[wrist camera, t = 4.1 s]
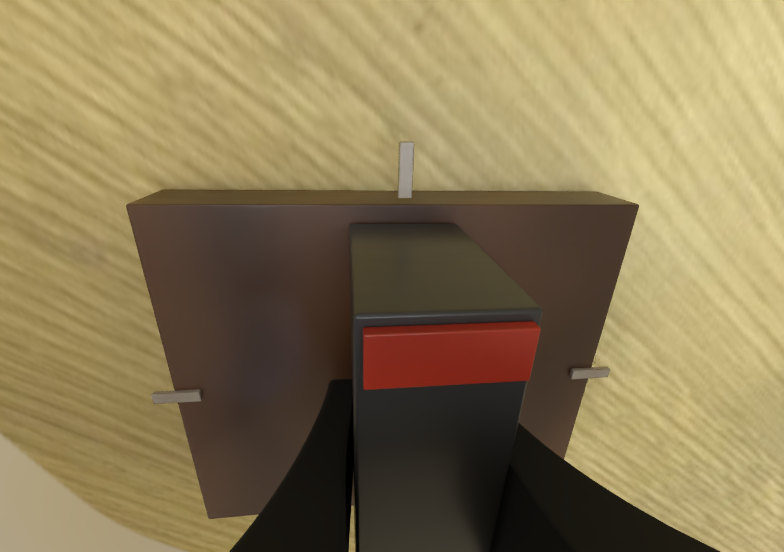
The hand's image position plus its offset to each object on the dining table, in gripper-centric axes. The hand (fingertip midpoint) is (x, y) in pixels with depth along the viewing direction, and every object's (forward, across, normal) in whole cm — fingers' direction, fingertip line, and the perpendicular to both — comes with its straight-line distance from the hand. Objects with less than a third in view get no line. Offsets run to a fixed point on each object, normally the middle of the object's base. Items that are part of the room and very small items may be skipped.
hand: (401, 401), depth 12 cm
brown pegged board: (+3, 0, 0) cm, 3 cm away
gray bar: (+1, 0, 0) cm, 1 cm away
